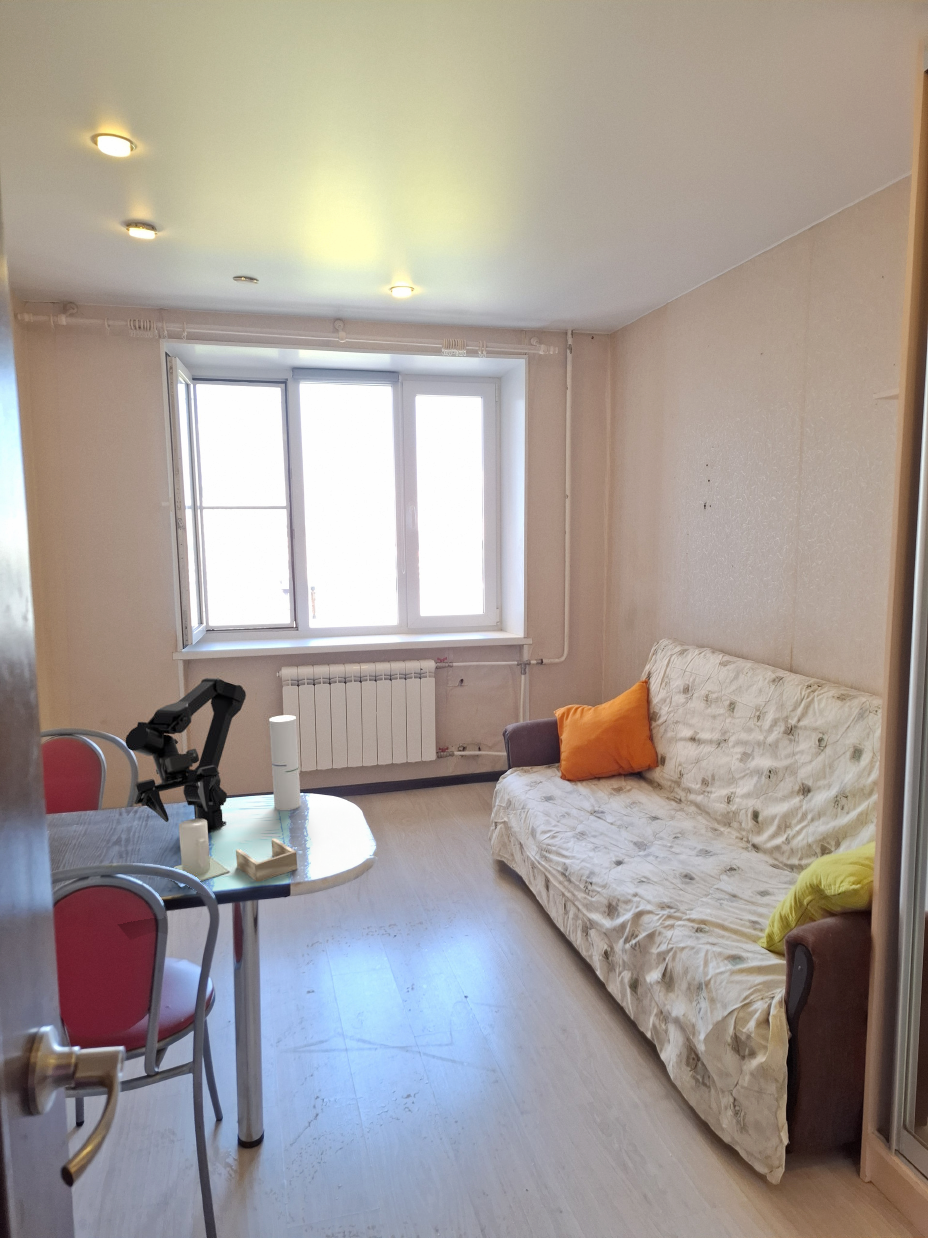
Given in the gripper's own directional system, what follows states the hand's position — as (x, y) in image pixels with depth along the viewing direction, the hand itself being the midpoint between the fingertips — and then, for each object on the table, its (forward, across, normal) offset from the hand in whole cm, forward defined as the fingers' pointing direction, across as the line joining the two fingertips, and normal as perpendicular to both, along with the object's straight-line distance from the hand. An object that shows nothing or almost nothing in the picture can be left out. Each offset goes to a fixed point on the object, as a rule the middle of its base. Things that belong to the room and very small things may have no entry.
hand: (187, 815), depth 174 cm
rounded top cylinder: (+11, 0, +6) cm, 12 cm away
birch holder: (+17, +13, +1) cm, 21 cm away
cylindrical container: (-6, +35, +24) cm, 43 cm away
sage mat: (+11, 0, +7) cm, 13 cm away
